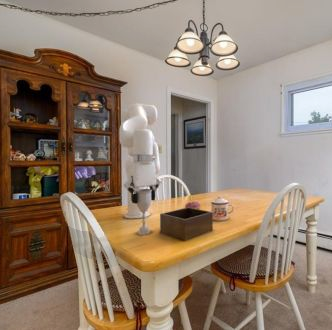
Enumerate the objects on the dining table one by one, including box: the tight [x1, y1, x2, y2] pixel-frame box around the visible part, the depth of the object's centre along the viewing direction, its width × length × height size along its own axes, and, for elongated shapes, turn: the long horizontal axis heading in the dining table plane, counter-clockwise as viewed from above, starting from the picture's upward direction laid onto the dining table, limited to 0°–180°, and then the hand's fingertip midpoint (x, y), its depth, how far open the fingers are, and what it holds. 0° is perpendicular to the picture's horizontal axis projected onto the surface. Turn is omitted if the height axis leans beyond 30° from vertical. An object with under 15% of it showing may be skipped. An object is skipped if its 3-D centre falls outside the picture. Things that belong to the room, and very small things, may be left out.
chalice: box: [136, 188, 152, 236], centre depth 93 cm, size 7×7×18 cm
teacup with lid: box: [210, 195, 235, 222], centre depth 116 cm, size 12×9×12 cm
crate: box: [159, 207, 214, 242], centre depth 95 cm, size 16×16×8 cm
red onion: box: [184, 194, 202, 210], centre depth 123 cm, size 9×8×12 cm
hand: (143, 201), depth 93 cm, fingers closed on chalice, 7 cm apart
